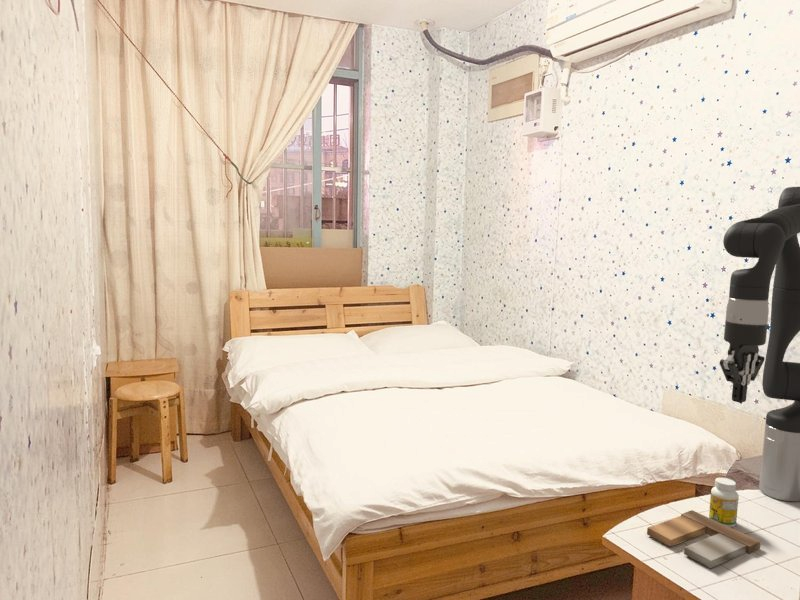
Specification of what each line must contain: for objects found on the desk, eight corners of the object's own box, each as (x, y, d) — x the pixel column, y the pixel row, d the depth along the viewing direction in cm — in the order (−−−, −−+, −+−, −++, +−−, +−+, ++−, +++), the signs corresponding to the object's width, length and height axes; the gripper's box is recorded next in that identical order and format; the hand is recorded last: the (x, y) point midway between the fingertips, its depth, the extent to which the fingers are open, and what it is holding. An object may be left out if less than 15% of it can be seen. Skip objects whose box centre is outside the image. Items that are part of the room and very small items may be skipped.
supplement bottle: (740, 529, 126) (744, 487, 125) (713, 527, 127) (717, 485, 126) (729, 517, 132) (733, 477, 131) (704, 515, 132) (708, 475, 131)
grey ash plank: (718, 539, 122) (719, 533, 122) (745, 552, 117) (746, 545, 117) (683, 554, 116) (684, 546, 115) (710, 568, 111) (711, 560, 111)
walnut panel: (691, 516, 132) (692, 510, 131) (759, 548, 119) (760, 541, 119) (680, 520, 130) (681, 514, 129) (748, 553, 117) (749, 546, 117)
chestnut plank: (681, 521, 129) (682, 515, 129) (705, 533, 124) (706, 526, 124) (646, 534, 123) (647, 527, 123) (670, 546, 118) (670, 539, 118)
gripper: (746, 325, 113) (738, 411, 116) (782, 320, 120) (774, 401, 122) (709, 319, 120) (702, 401, 122) (745, 315, 126) (738, 392, 129)
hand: (738, 401), depth 122 cm, fingers closed
